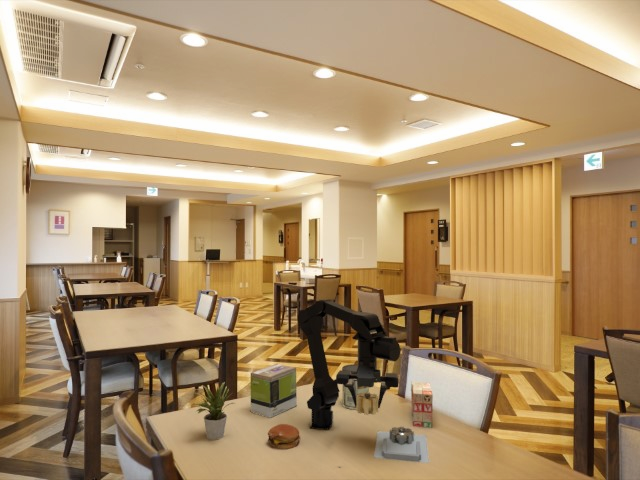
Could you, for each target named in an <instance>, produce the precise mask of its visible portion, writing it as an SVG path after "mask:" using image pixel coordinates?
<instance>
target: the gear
mask: <svg viewBox="0 0 640 480" xmlns="http://www.w3.org/2000/svg"><path fill="white" fill-rule="evenodd" d="M389 432H390V439H391V441H392V442H394V443H399V444H402V445H404V444H411V443H412V441H414V432H415V431H413V430H412V429H411V428H410V427H407V428H406V427H404V426H399V427H396V426H393V427H391V429H389Z"/></svg>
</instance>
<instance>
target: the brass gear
mask: <svg viewBox="0 0 640 480" xmlns="http://www.w3.org/2000/svg"><path fill="white" fill-rule="evenodd" d="M378 401H379V395H378V394H377V393H371V392H370V391H369V392H366V393H359V395H358V394H357V396H356V402H357V406H356V409H355V410H356V411H357V413H358V414H364V415H366V416H369V415H377V413H379V408H378Z"/></svg>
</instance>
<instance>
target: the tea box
mask: <svg viewBox="0 0 640 480" xmlns="http://www.w3.org/2000/svg"><path fill="white" fill-rule="evenodd" d="M297 401H298V398H297V368H296V366H295V367H294V366H290V365H283V364H280V363H279V364H278V363H276V364H272V365H270V366H267V367H263V368H261V369H258V370H254V371H251V372H250V412H251V413H252V412H254V413H253V414H255V413H257V414H256V415H259V414H260V415H259V416H262V415H263V417H265V416H266V418H269V419H271V418H273V417H275V416H277V415H279V414H281V413H283V412H286V411H288V410H290V409H292V408H294V407H296V406H297V404H298V403H297Z"/></svg>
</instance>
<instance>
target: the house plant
mask: <svg viewBox="0 0 640 480" xmlns="http://www.w3.org/2000/svg"><path fill="white" fill-rule="evenodd" d="M225 383H226V382H225V381H224V382H222V383H221V384H220V385H218V386H217V388H216V390H215V394H213V393H212V390H211V389H209V388H207V387H206V386H205V385H201V386H202V387H203V388H204V389H205V391H206V393H207V396H208V397H207V396H205V395H204V394H202V393H199V392H196V395H198V396H202V397H203V398H202V400H203V402H202V403H201V402H200V403H199V402H196V403H193V406H194V408H195V407H197V408H198V409H197V410H196V412H197V414H200V413H202V412H207V414H205V415H204V416H203V419H204V420H203V421H204V427H205V432H206V433H205V434H206V438H207V439H208V440H212V441H216V440H219V439H222V438H224V435H225V430H226V425H227V419H228V418H227V417H228V415H227V413H226V412H225V411H223V410H225V408H226V407H228V406H229V405H233V404H235V405H236V403H235V402H231V403H228V404H226V405H225V402H226V401H227V400H228V398H229V397H230V396H231V395H232V393H230V394H229V391H230V388H228V389H227V387H228V385H226V384H225ZM225 385H226V386H225ZM224 386H225V387H224ZM223 389H224V390H223ZM222 392H223V393H222ZM228 394H229V395H228ZM227 395H228V396H227ZM224 405H225V406H224Z"/></svg>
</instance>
